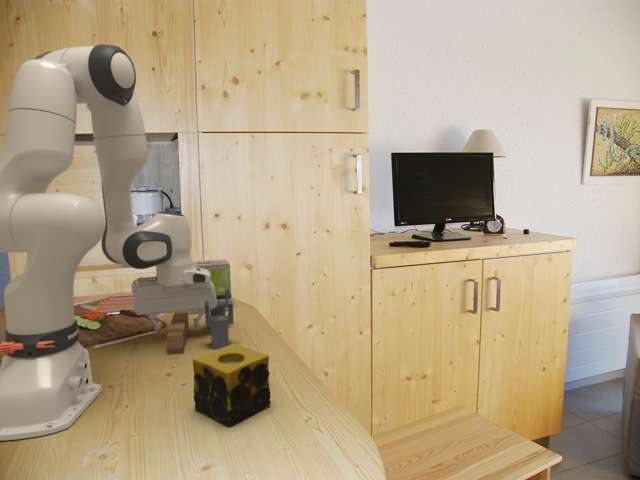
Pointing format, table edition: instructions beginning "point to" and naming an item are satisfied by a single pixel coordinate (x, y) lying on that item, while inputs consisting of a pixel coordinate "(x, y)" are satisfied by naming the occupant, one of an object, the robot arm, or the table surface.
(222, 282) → the tea box
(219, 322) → the bracket near
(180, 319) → the rail
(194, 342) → the table surface
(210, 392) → the yellow and black cube
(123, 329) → the chopping board
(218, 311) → the bracket far
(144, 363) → the table surface
